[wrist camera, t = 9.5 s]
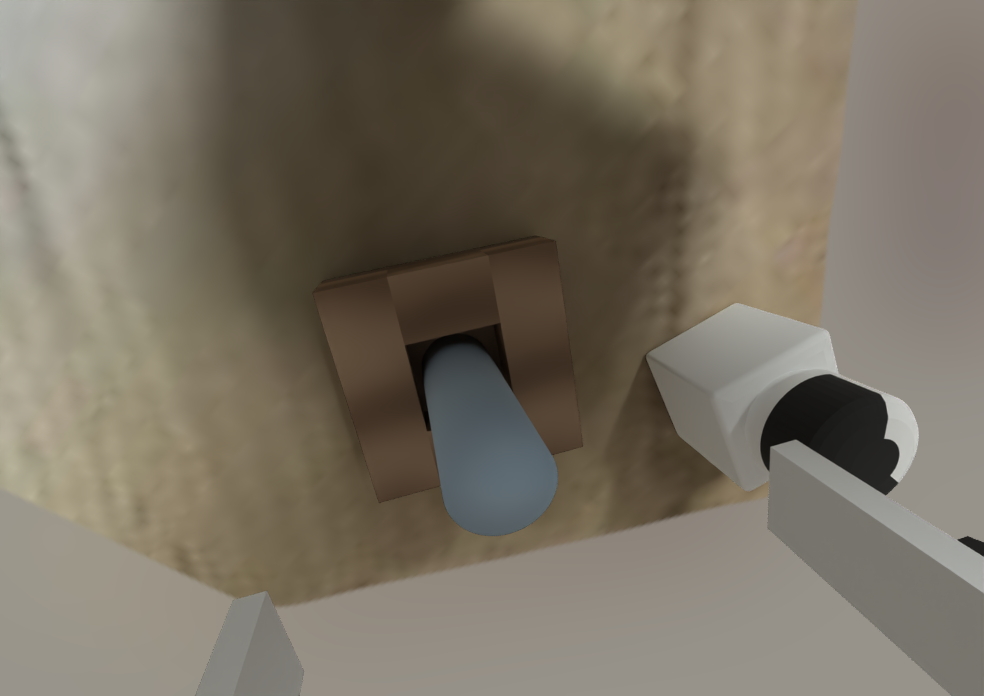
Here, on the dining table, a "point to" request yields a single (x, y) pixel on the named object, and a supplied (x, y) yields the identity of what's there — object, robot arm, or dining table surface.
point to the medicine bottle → (777, 399)
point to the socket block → (440, 312)
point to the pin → (484, 441)
